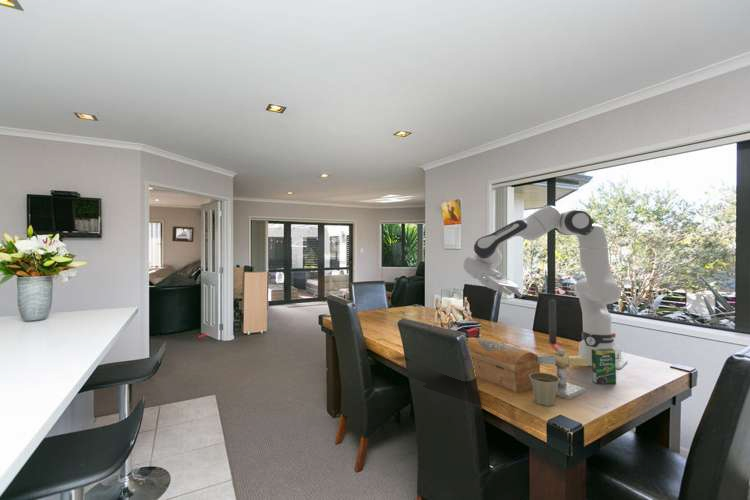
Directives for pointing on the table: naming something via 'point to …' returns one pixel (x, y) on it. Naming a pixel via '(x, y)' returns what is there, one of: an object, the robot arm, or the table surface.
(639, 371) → the table surface
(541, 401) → the flower pot
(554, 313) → the valve lever
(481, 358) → the wooden box
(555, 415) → the table surface
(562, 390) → the standpipe valve
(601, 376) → the coffee box
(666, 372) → the table surface
